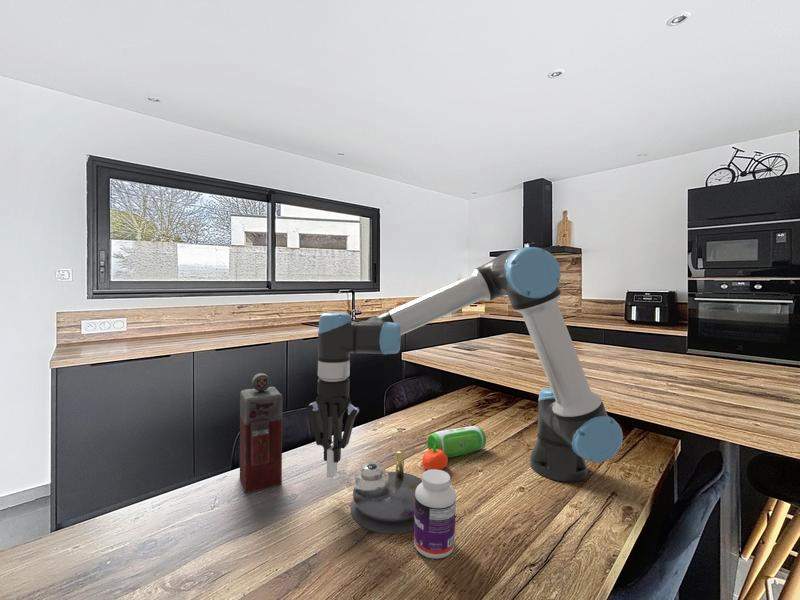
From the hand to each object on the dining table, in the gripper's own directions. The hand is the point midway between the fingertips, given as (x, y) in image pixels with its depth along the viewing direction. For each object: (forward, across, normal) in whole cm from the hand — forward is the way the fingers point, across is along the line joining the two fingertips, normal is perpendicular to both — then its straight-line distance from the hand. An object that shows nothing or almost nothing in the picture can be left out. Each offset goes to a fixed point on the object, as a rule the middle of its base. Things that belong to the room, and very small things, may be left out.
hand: (331, 474), depth 91 cm
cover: (+2, -10, 0) cm, 10 cm away
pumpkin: (+6, -22, -21) cm, 31 cm away
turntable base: (+6, -15, 0) cm, 16 cm away
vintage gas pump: (+6, +20, -1) cm, 21 cm away
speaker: (+6, -27, -33) cm, 43 cm away
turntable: (+4, -15, 0) cm, 16 cm away
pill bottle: (+6, -27, +11) cm, 29 cm away
